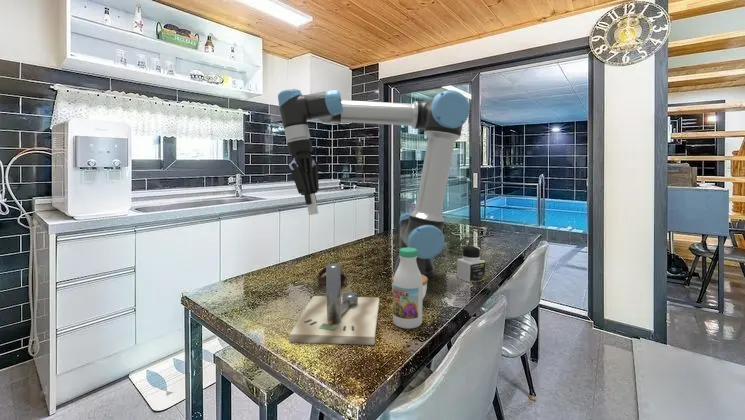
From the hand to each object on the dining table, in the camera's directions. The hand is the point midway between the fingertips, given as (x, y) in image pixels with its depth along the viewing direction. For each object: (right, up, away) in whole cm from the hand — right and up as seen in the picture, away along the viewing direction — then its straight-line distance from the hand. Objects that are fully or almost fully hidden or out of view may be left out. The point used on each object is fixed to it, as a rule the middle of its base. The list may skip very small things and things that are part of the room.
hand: (313, 214), depth 114 cm
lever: (+11, -26, -19) cm, 34 cm away
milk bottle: (+28, -29, -20) cm, 45 cm away
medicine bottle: (+54, -24, +15) cm, 61 cm away
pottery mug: (+5, -25, +9) cm, 27 cm away
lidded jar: (+30, -27, -6) cm, 41 cm away
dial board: (+10, -28, -19) cm, 35 cm away
